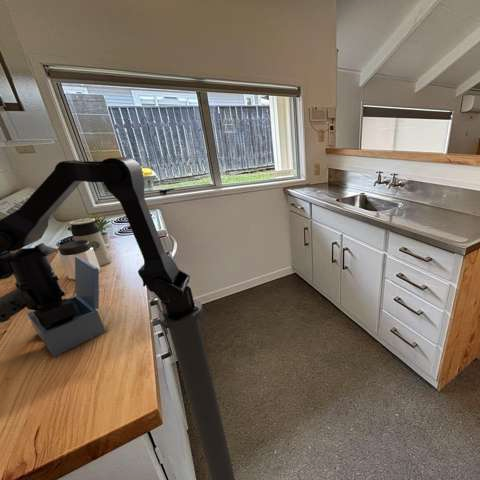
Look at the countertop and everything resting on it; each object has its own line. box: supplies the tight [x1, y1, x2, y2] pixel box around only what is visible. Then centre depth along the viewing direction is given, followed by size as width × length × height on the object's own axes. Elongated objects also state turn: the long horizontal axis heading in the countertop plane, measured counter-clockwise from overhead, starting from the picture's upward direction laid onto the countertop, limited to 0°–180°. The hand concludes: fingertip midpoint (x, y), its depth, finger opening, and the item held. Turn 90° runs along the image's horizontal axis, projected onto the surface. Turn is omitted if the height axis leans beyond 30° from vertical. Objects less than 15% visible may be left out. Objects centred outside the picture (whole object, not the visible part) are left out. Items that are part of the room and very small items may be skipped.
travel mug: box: [68, 217, 111, 267], centre depth 99 cm, size 8×8×18 cm
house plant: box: [89, 213, 116, 249], centre depth 115 cm, size 14×14×16 cm
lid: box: [74, 257, 100, 310], centre depth 65 cm, size 10×14×1 cm
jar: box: [57, 240, 102, 280], centre depth 92 cm, size 9×8×12 cm
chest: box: [26, 294, 106, 357], centre depth 63 cm, size 10×14×6 cm
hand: (61, 331), depth 63 cm, fingers open, 6 cm apart
